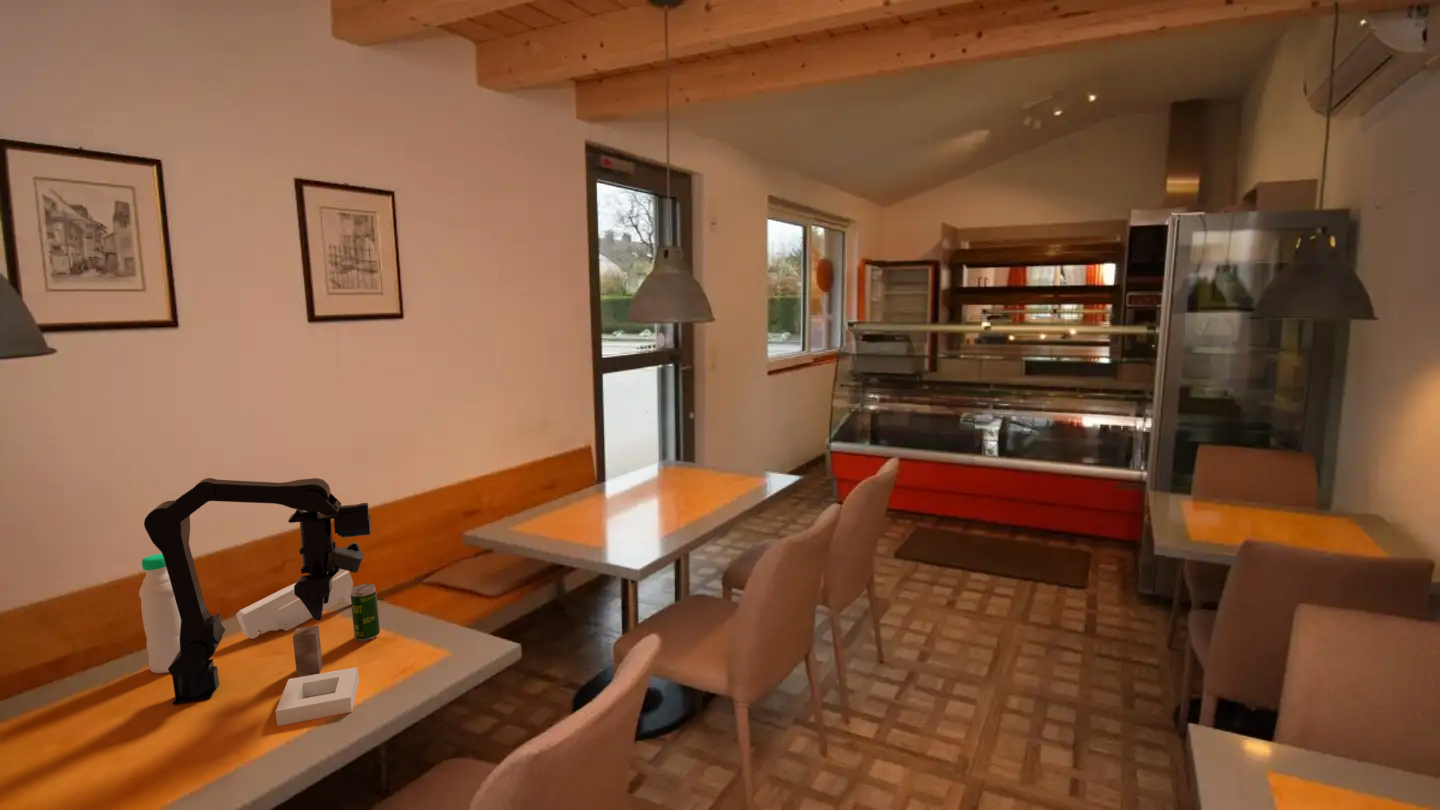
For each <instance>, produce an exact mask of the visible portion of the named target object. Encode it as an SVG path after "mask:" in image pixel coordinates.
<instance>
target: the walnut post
mask: <svg viewBox="0 0 1440 810" xmlns="http://www.w3.org/2000/svg"><path fill="white" fill-rule="evenodd" d="M292 643H293V644H292V645H293V652H294V661H295V669H296V678H298V677H303V676H309V675H315V674H321V670H322V669H323V662H324V661H323V656H322V655H323V654H322V645H321V635H320V626H319V625H311V626H305V627H299V628H297V627H296V628H295V630H294V632H293V635H292Z"/></svg>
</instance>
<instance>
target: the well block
mask: <svg viewBox="0 0 1440 810" xmlns="http://www.w3.org/2000/svg"><path fill="white" fill-rule="evenodd" d="M358 670H359V668H358V666H355V667H350V668H346V669H345V668H344V669H337V670H334V671H328V672H320V674H314V675H308V676H303V677H293V678H289V679H288V680H287V682H286V685H285V688H284V689H283V692H282V695H281V697H280V699H279V701H278V704H277V706H276V709H275V716H276V717H275V718H276V719H275V720H276V724H277V727H281V726H284V725H291V724H296V723H302V722H306V721H310V720H317V719H323V718H327V717H332V716H337V715H342V714H348V713H353V709H354V703H355V699H356V694H357V691H358V686H359V682H360V679H359V678H360V677H359V671H358Z"/></svg>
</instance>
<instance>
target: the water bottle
mask: <svg viewBox="0 0 1440 810" xmlns="http://www.w3.org/2000/svg"><path fill="white" fill-rule="evenodd" d="M141 566H142V569H143V571H144V572H145V577H144V578H143V580H142V584H141V586H140V587H139V591H138V596H139V598H140V599H141V601H140V602H141V603H140V604H141V605H140V607H141V616H142V624H143V629H144V633H145V637H146V650H147V653H148V665H149V666H148V667H149V670H150V671H151V672H152V673H153V674H167V673H170V672H169V671H168V668H169V666H170V665H171V663H172V662H173V660H174V659H175V657H176V656H177V654H178V653H179V651H180V628H181V618H180V614H179V611H178V607H177V604H176V600H175V597H174V593H173V589H172V586H171V582H170V579H169V575H168V572H167V568H166V564H165V561H164V557H163V554H162V553H157V554H151V555H148V556H146V557H144V558H142V561H141Z"/></svg>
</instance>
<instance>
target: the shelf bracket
mask: <svg viewBox="0 0 1440 810" xmlns="http://www.w3.org/2000/svg"><path fill="white" fill-rule="evenodd" d="M353 581H354V580H353V578H352V575H351V572H350V571H348V570H343V569H339V571H338V572H337V573H336V574H335V575H334V576H333V577H332V588H331V591H330V595H329V600H328V603H325V604H323V611H322V612H325V611H326V610H327V609H329V608H331V607H333V606H334V605H336V604H337V603H338V601H339V600H340V599H343V602H345V603H347V604H349V605H351V595H350V594H351V589H352V588H353V587H354V585H355V584H354V582H353ZM295 584H296V582H295V583H293V584H290V585H288V586H286V587H284V588H281V589H279V590H277V591H276V592H273V593H272V594H269V595H267V596H266V597H264V598H262V599H260V600H258V601H256V602H253V603H252V604H250V605H248V606H246V607H244V608H241V609H240V610H238V612H236V613H235V616H236V618H237V621H238V623H239V625H240V628H241V631H242V633H243V635H244V636H246V638H247V637H248V638H249V639H253V640H254V639H255V638H257V637H259V636H260V634H261V635H262V634H264V633H267V632H269V631H279V630H282V631H290V630H292V629H294V628H297V627H298V626H300V625H301V624H303V623H305V622H306V621H308V620H309V619H310V620H311V619H312V618H313V617H312V615H311V614H310V612H309V611H308V609H307V608H306V606H305V605H304V604H303V602H302V601H301V600H300V598H298V597H297V596H295V593H294V586H295ZM259 633H260V634H259Z"/></svg>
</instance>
